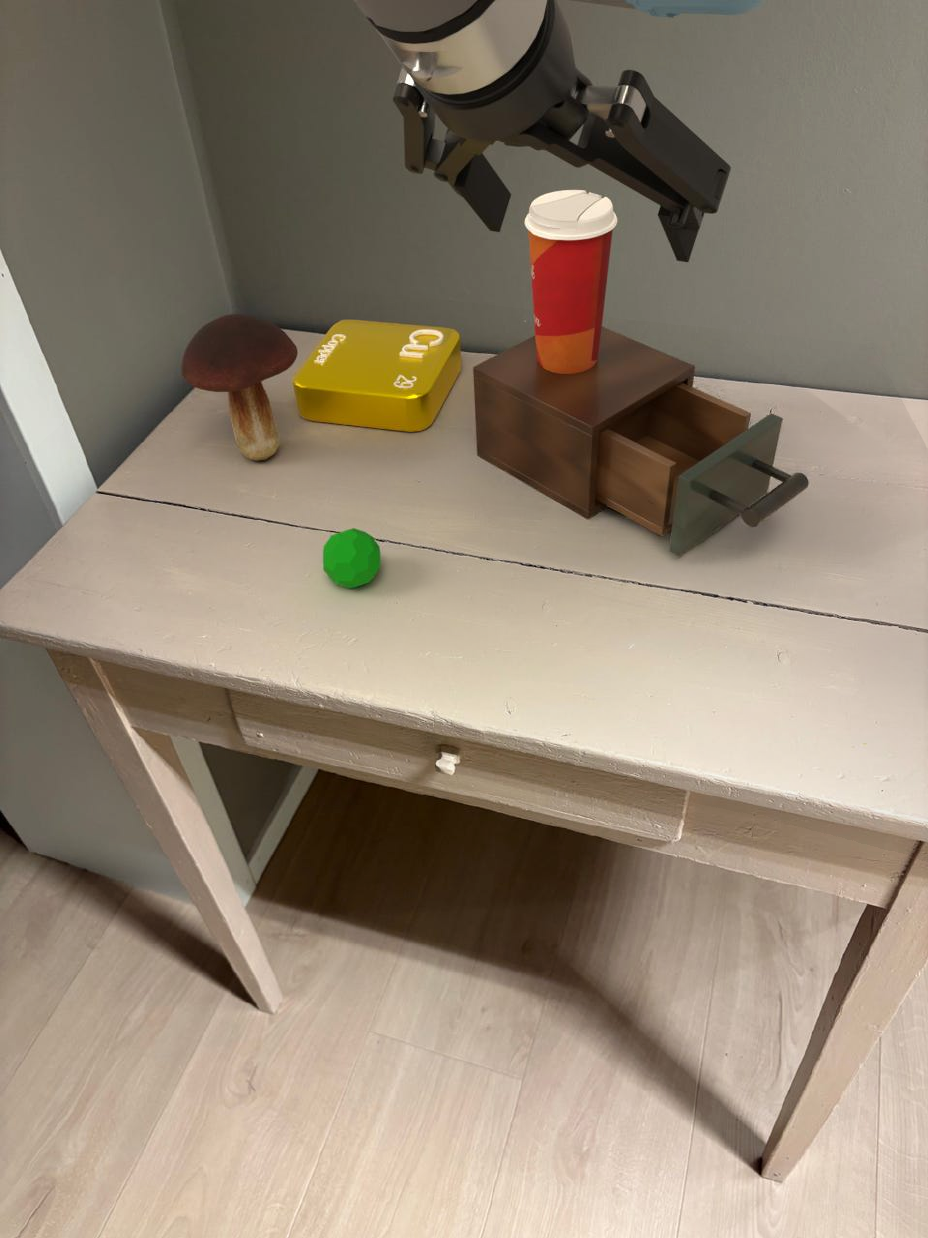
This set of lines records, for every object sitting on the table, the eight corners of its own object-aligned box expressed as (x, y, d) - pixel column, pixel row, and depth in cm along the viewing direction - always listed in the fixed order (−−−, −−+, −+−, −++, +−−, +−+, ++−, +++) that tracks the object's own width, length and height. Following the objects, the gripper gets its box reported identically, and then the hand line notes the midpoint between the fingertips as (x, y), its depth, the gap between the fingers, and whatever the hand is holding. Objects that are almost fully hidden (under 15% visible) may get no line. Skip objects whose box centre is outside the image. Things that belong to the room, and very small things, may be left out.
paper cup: (563, 330, 93) (566, 180, 83) (626, 356, 88) (637, 201, 79) (507, 361, 89) (503, 208, 79) (570, 390, 85) (574, 231, 75)
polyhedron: (386, 594, 81) (379, 551, 78) (328, 602, 81) (319, 559, 77) (380, 556, 85) (374, 514, 81) (325, 564, 84) (316, 521, 81)
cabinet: (683, 456, 93) (695, 365, 87) (587, 519, 87) (592, 427, 80) (572, 401, 102) (574, 314, 95) (476, 455, 95) (472, 366, 88)
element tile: (342, 351, 112) (336, 312, 109) (466, 362, 108) (464, 323, 105) (292, 420, 102) (284, 379, 98) (427, 435, 98) (423, 394, 95)
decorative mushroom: (222, 499, 92) (182, 358, 82) (196, 443, 99) (156, 306, 89) (330, 468, 95) (304, 327, 85) (297, 415, 102) (270, 279, 92)
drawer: (815, 516, 84) (835, 440, 79) (728, 585, 78) (743, 508, 73) (650, 435, 95) (657, 363, 89) (562, 491, 89) (564, 417, 83)
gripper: (239, 80, 50) (415, 252, 69) (709, 129, 40) (758, 313, 60) (281, -64, 49) (446, 150, 69) (766, -49, 40) (796, 195, 59)
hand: (591, 226), depth 64 cm, fingers open, 13 cm apart
